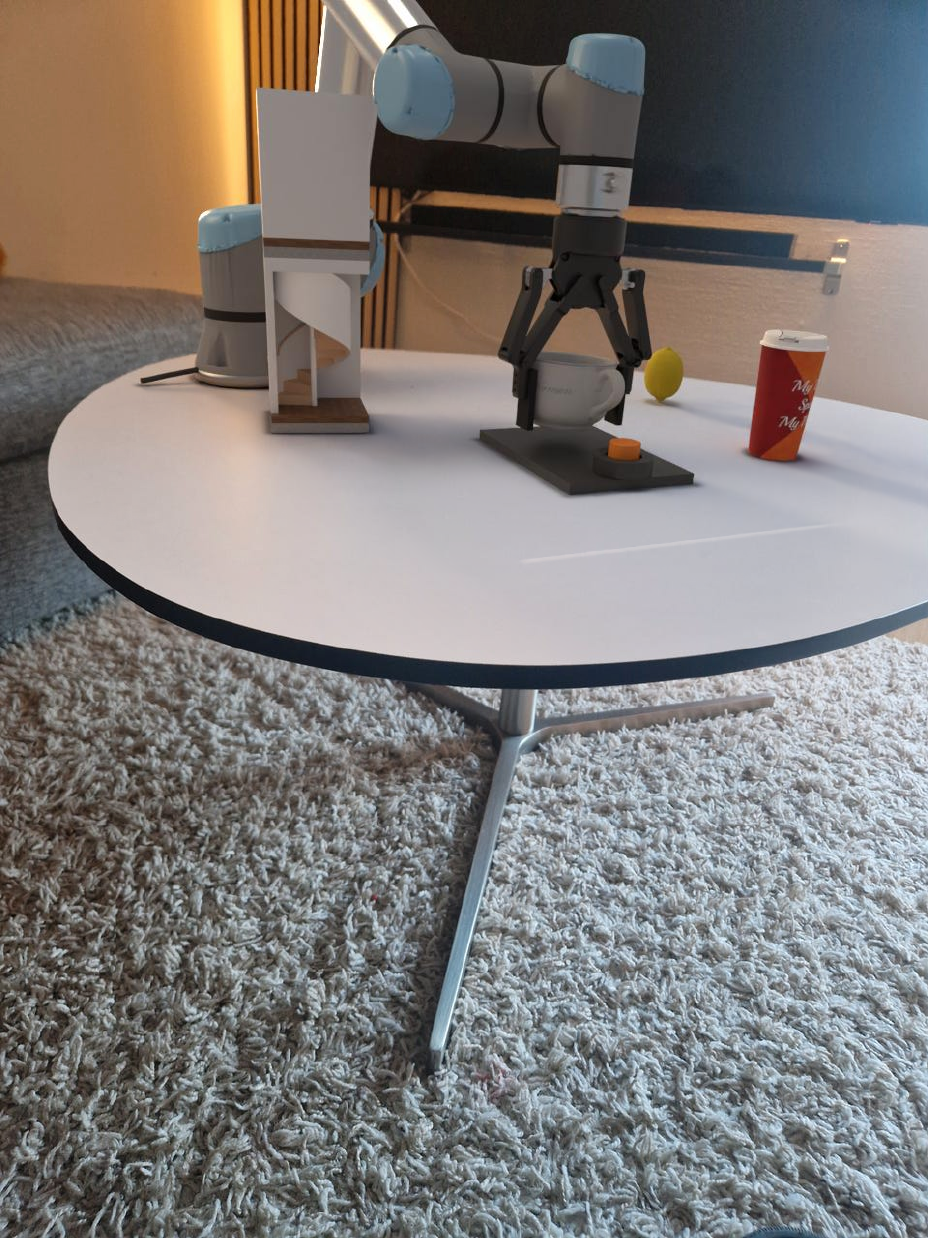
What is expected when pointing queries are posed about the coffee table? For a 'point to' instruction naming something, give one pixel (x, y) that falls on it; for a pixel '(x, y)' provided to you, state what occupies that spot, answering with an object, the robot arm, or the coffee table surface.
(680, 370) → the lemon
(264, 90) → the spiral staircase model
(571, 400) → the teacup
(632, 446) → the button
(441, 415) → the coffee table surface
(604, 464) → the scale
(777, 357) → the paper cup
